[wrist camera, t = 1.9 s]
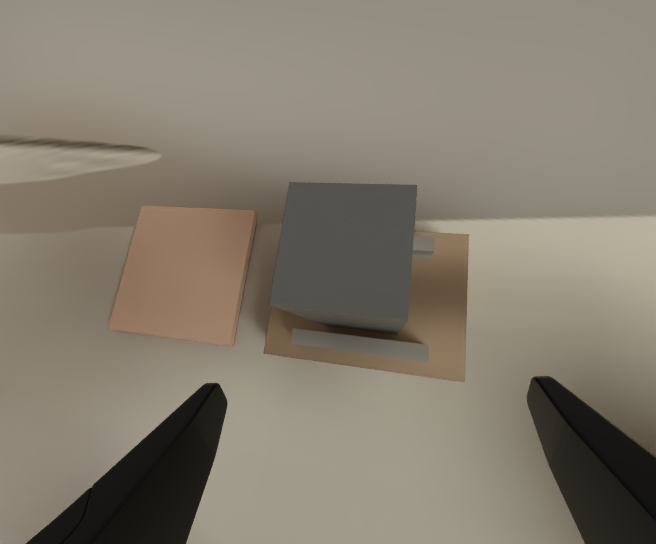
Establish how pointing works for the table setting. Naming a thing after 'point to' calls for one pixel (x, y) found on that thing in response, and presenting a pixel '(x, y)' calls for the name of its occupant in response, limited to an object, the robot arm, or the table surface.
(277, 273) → the dark gray rectangular block
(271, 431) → the table surface
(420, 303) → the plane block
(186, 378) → the table surface
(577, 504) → the robot arm
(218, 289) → the rubber mat
